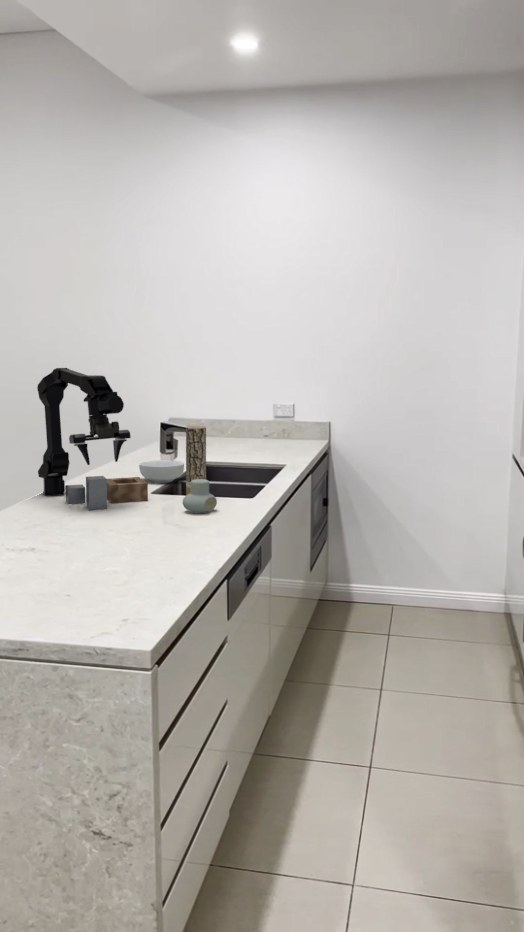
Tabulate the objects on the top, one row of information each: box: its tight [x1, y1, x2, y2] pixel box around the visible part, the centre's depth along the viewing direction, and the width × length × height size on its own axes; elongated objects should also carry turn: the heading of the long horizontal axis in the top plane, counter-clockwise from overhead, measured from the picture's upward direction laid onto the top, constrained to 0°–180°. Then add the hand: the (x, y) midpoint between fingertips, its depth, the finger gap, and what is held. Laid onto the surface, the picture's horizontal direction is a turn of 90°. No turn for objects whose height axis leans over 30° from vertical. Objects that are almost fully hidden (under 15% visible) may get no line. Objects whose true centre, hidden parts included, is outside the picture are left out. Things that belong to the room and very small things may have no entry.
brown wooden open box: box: [106, 476, 149, 504], centre depth 275 cm, size 12×12×6 cm
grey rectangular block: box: [85, 475, 108, 512], centre depth 259 cm, size 6×6×10 cm
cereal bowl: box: [138, 459, 185, 484], centre depth 307 cm, size 17×17×7 cm
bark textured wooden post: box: [185, 424, 207, 496], centre depth 276 cm, size 7×7×25 cm
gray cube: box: [64, 484, 86, 505], centre depth 268 cm, size 6×6×6 cm
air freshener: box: [182, 479, 218, 514], centre depth 257 cm, size 11×8×10 cm
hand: (102, 463), depth 260 cm, fingers open, 9 cm apart
